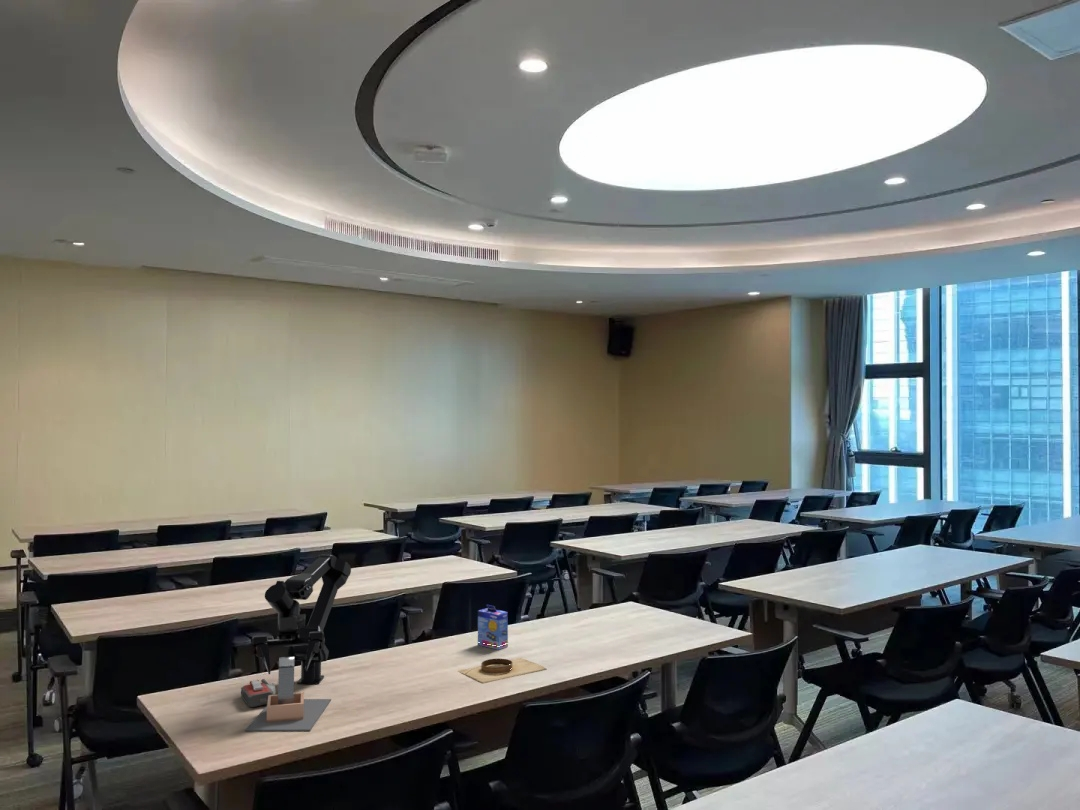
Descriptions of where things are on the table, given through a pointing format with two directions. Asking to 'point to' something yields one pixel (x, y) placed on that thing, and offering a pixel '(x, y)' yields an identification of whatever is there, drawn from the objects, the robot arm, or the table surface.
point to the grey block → (286, 680)
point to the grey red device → (257, 692)
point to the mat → (310, 717)
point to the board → (501, 669)
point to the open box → (285, 709)
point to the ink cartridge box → (492, 627)
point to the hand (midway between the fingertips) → (287, 671)
